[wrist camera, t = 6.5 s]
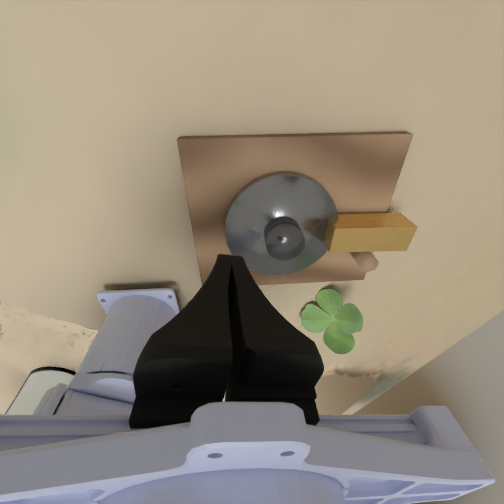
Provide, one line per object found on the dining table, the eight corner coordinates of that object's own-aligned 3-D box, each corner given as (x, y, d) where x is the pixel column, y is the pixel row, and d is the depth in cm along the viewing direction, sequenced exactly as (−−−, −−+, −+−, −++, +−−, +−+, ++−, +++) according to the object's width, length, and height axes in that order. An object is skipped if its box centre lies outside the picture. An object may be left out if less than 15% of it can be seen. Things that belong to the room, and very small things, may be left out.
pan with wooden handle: (227, 270, 25) (227, 291, 23) (221, 172, 19) (220, 186, 17) (378, 265, 26) (393, 285, 24) (416, 170, 20) (442, 183, 18)
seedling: (322, 285, 36) (295, 292, 31) (380, 280, 30) (356, 287, 25) (331, 335, 35) (304, 349, 30) (392, 340, 29) (370, 358, 25)
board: (359, 273, 28) (376, 299, 25) (203, 281, 27) (199, 309, 24) (405, 131, 20) (440, 142, 16) (179, 136, 19) (168, 148, 16)
